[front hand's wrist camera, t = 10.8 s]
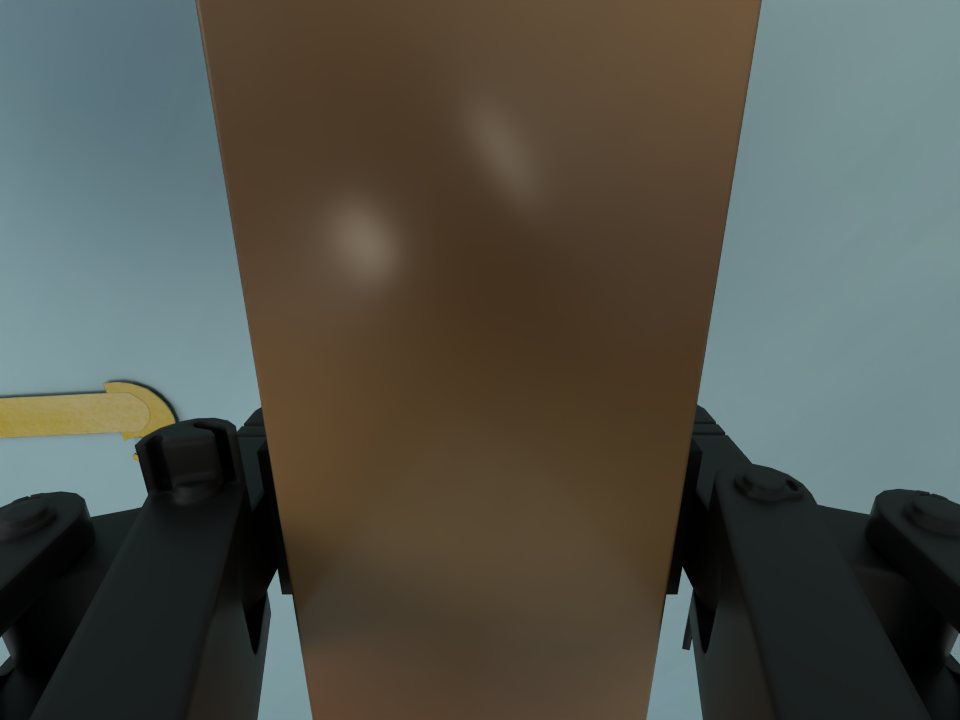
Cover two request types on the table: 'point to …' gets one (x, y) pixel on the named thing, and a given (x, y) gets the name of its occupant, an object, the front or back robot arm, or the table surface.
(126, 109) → the table surface
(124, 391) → the bottle opener
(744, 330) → the table surface
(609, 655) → the post
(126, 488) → the table surface
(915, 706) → the front robot arm
